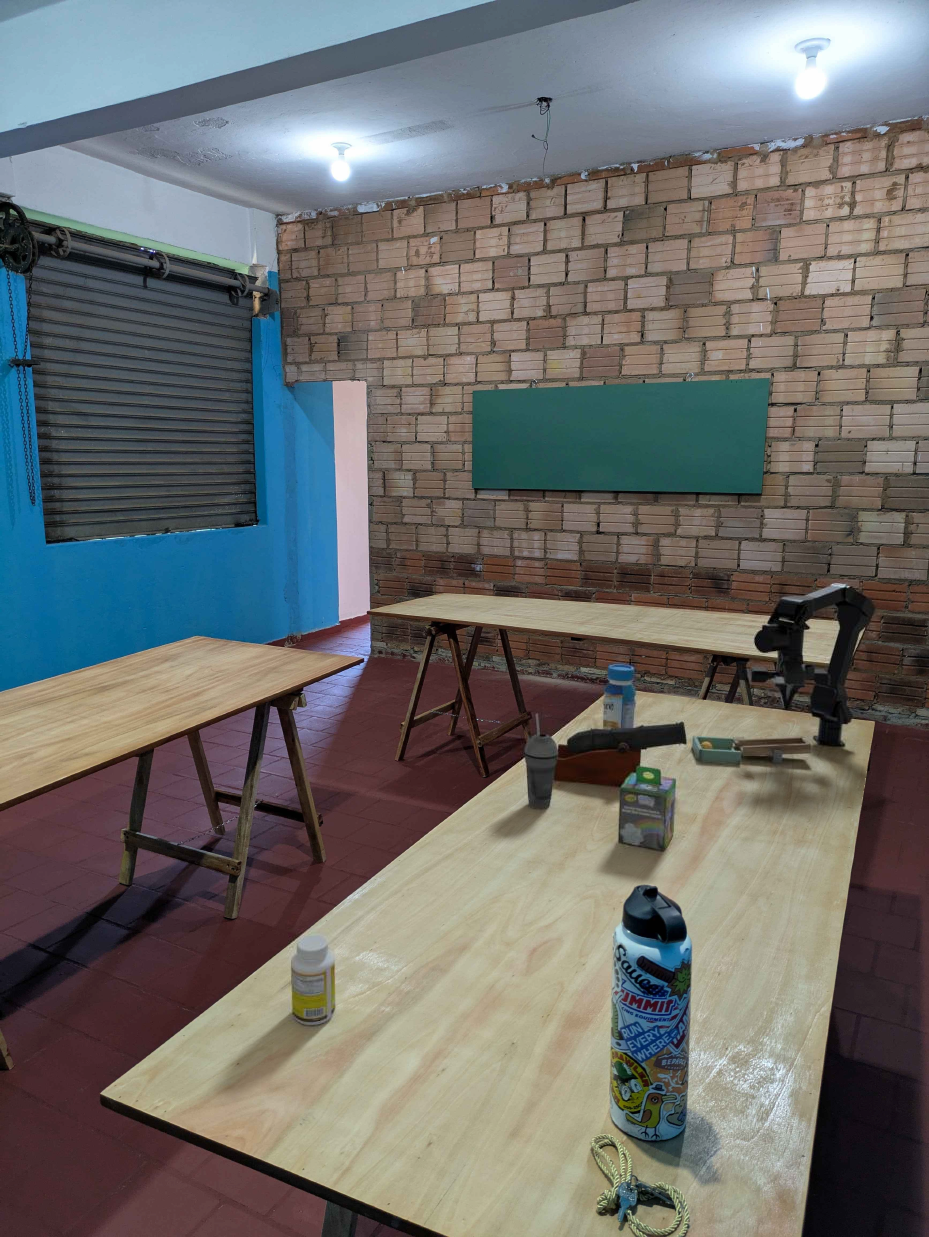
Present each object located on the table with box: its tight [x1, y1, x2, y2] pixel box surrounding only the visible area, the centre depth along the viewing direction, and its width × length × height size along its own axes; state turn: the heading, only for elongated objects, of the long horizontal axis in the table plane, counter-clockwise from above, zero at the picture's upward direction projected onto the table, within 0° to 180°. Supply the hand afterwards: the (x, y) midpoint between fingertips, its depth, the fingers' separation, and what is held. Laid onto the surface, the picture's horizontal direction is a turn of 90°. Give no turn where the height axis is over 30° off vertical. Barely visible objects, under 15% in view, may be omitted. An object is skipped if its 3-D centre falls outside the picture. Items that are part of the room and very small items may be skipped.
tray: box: [691, 735, 742, 765], centre depth 213 cm, size 11×10×3 cm
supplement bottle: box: [290, 933, 336, 1026], centre depth 110 cm, size 6×6×10 cm
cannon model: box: [553, 721, 688, 788], centre depth 194 cm, size 13×30×15 cm, turn 76°
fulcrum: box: [767, 749, 783, 765], centre depth 211 cm, size 8×2×4 cm, turn 173°
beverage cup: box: [523, 713, 558, 810], centre depth 178 cm, size 7×7×20 cm
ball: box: [701, 742, 712, 749], centre depth 213 cm, size 3×3×3 cm
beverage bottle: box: [602, 663, 637, 730], centre depth 221 cm, size 8×8×20 cm
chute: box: [731, 736, 812, 757], centre depth 214 cm, size 12×16×2 cm
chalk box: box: [617, 765, 677, 852], centre depth 163 cm, size 9×9×15 cm
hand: (785, 708), depth 213 cm, fingers closed
